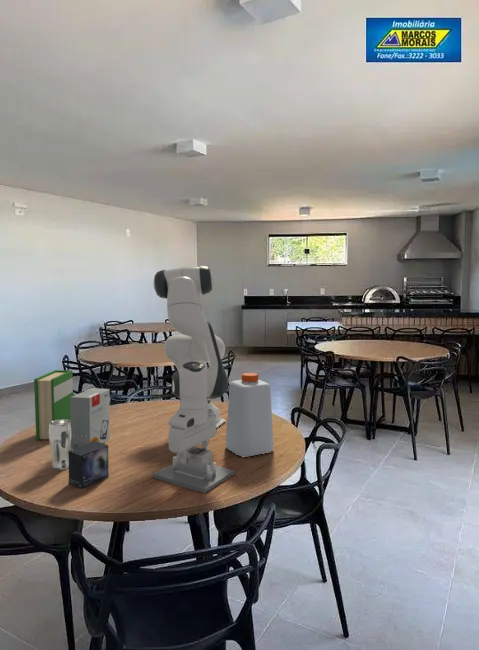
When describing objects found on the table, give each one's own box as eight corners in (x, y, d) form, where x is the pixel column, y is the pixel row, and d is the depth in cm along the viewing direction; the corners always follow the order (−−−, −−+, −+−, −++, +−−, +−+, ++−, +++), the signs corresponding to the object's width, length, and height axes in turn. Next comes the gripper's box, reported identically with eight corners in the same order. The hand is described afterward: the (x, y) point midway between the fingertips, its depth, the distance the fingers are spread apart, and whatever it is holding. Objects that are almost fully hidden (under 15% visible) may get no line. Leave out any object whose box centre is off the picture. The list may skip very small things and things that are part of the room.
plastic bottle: (278, 452, 164) (279, 376, 161) (241, 460, 156) (242, 380, 154) (256, 440, 177) (257, 368, 174) (221, 446, 170) (221, 372, 167)
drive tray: (185, 460, 156) (185, 446, 155) (234, 474, 145) (234, 458, 145) (152, 477, 142) (152, 461, 142) (204, 493, 132) (204, 476, 131)
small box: (82, 489, 134) (81, 455, 133) (67, 484, 137) (66, 450, 136) (110, 476, 143) (109, 444, 142) (95, 472, 146) (95, 440, 145)
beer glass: (77, 464, 152) (75, 420, 151) (62, 472, 146) (61, 426, 144) (60, 461, 154) (58, 418, 153) (45, 469, 148) (43, 424, 146)
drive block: (186, 465, 148) (186, 444, 148) (211, 472, 143) (211, 450, 142) (176, 470, 144) (176, 449, 144) (202, 478, 139) (202, 455, 138)
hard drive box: (89, 453, 162) (88, 398, 160) (70, 451, 163) (68, 397, 162) (110, 438, 177) (109, 388, 175) (92, 437, 179) (91, 387, 177)
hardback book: (55, 441, 174) (53, 379, 172) (36, 441, 174) (34, 379, 172) (73, 426, 191) (72, 370, 189) (56, 426, 192) (54, 370, 189)
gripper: (205, 405, 152) (205, 446, 154) (164, 421, 135) (165, 466, 136) (221, 408, 149) (221, 449, 150) (181, 425, 132) (181, 471, 133)
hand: (194, 458), depth 143 cm, fingers open, 8 cm apart
